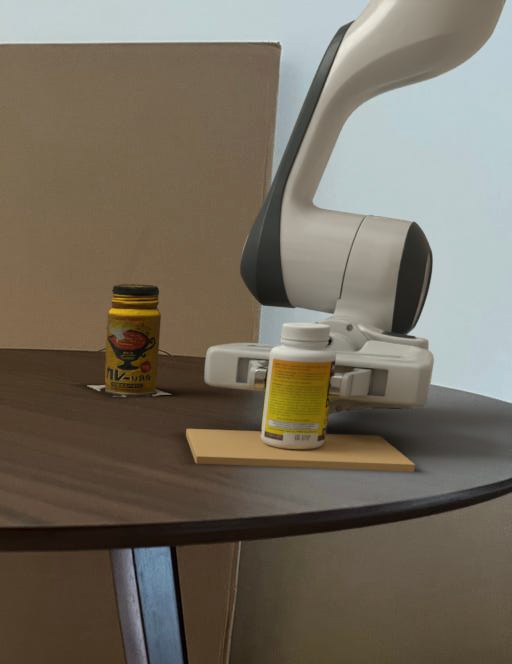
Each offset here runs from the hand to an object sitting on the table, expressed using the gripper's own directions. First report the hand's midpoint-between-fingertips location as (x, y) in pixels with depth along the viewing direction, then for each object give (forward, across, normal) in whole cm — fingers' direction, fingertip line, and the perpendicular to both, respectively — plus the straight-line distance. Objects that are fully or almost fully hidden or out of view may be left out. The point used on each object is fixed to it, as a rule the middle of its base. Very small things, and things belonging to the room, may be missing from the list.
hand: (297, 382), depth 88 cm
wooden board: (-1, 0, +6) cm, 6 cm away
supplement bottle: (-1, 0, +6) cm, 6 cm away
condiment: (-25, -25, +6) cm, 36 cm away
